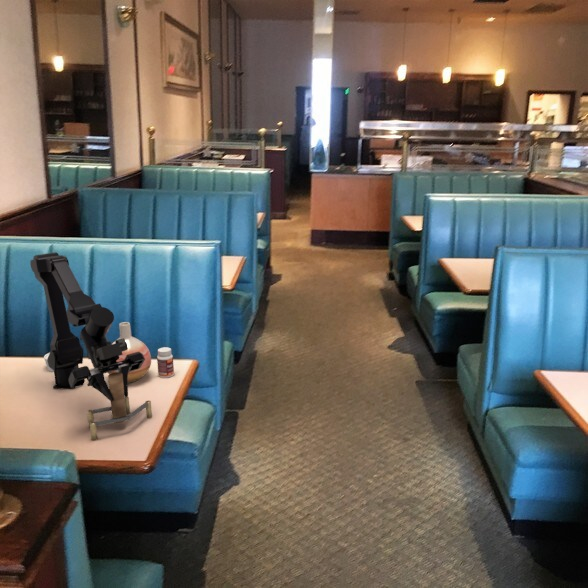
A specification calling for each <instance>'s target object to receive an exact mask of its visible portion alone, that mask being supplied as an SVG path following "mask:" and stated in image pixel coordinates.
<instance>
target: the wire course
mask: <svg viewBox="0 0 588 588" xmlns="http://www.w3.org/2000/svg"><path fill="white" fill-rule="evenodd" d="M125 405H126V416H123V417H118V418H112V417H111V418H108V419H103V420H98V421H95V420H94V419H95V416H94V414H100V413H101V414H102V413H106V412H112V410H111V405H110V406H105V407H101V408H100V407H99V408H94V409H87V411H86V413H87V414H86V415H87V420H88V421H87V424H88V428H90V430H89V431H90V437H91V438H90V439H91V441H97V440H98V439H97V438H98V431H97V426H98V427H99V426H103V425H109V424H113V423H114V424H116V423H115V422H120V421H125V420H127V421H129V420H131V419H132V418H134V417H135V416H136V415H137V414H139V413H140V412H142V411H144V410H145V414H146V418H147V419H151V418H152V417H153V412H152V401H151V400H146V401H145V402H143V404H141V405H140V406H139V407H137V408H136V409H134V410H133V411H132V412H131V407H130V406H131V405H130V397H129V395H128V396H127V397H125ZM96 439H97V440H96Z"/></svg>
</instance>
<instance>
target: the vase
mask: <svg viewBox="0 0 588 588" xmlns="http://www.w3.org/2000/svg"><path fill="white" fill-rule="evenodd" d="M118 327H119V337H118V338H117V339H116V340H118V339H122V338H124V339H125V341H126V343H127V347H128V349H127V350H126V351H122V354H123V355H120V356H119V357H120V358H119V359H118V360H116V361H117V362H119V361H123V360H124V359H125V358H126V356H127V355H128V354H132V353H136V352H140V353H142V354H143V355H144V358H145V361H144V362H143V364H142V366H141V367H140V368H139V369H137V370H134V371H130V372H129V373H128V377H127V383H133V382H137V381H139V380H141V379H142V378H143V377H144V376H145V375H146V374H147V373H148V372H149V370H150V369H151V366H152V355H151V352H150V350H149V347H148V346H147V345H146V344H145V343H144V342H143V341H141V340H140V339H138V338H136V337H134V336H132V329H131V328H132V327H131V323H130V322H128V321H124V322H123V321H122V322H120V323H119V324H118ZM111 343H112V344H116V342H115V341H113V342H111ZM115 372H117V371H116V370H115V371H111V372H108V373H107V374H108V375H109V374H111V373H115Z"/></svg>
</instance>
